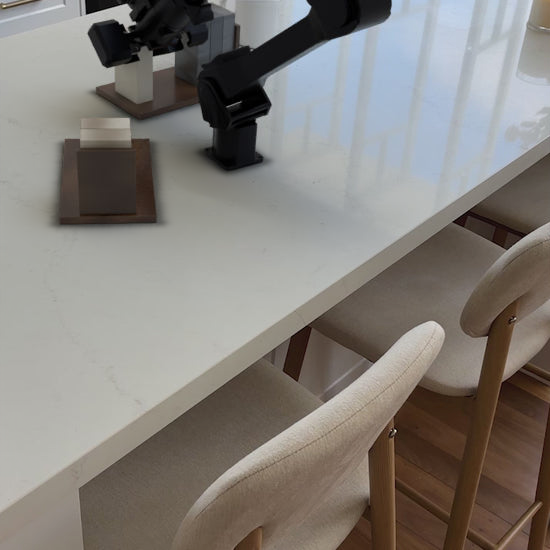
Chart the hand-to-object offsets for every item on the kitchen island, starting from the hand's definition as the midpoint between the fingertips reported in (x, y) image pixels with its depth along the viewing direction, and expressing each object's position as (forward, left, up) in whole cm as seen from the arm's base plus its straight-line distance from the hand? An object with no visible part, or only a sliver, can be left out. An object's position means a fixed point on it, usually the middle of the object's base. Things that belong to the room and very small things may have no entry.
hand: (128, 58), depth 138 cm
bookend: (0, -8, -7) cm, 10 cm away
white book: (-1, 0, -6) cm, 6 cm away
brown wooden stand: (-22, +15, -7) cm, 28 cm away
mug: (+14, -32, -7) cm, 35 cm away
